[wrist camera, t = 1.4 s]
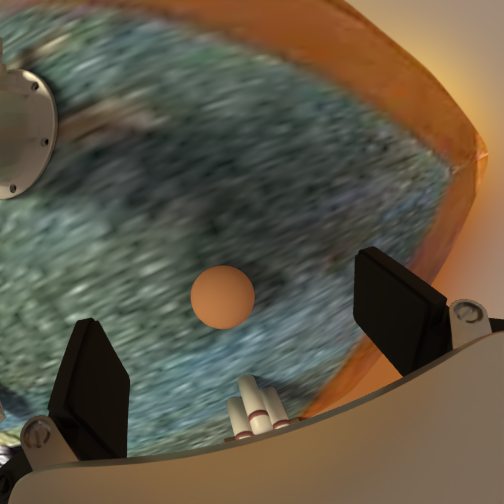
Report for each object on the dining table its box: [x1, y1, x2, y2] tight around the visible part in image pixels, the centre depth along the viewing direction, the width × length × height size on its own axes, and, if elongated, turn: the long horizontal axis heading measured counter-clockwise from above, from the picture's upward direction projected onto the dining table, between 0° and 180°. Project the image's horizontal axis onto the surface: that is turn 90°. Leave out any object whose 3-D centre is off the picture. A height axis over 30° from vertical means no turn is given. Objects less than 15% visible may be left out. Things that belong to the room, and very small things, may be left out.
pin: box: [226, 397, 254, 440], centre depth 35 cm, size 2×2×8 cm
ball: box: [191, 265, 255, 329], centre depth 28 cm, size 6×6×6 cm
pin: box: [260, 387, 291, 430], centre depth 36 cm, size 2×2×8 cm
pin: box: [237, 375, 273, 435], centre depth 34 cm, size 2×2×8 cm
